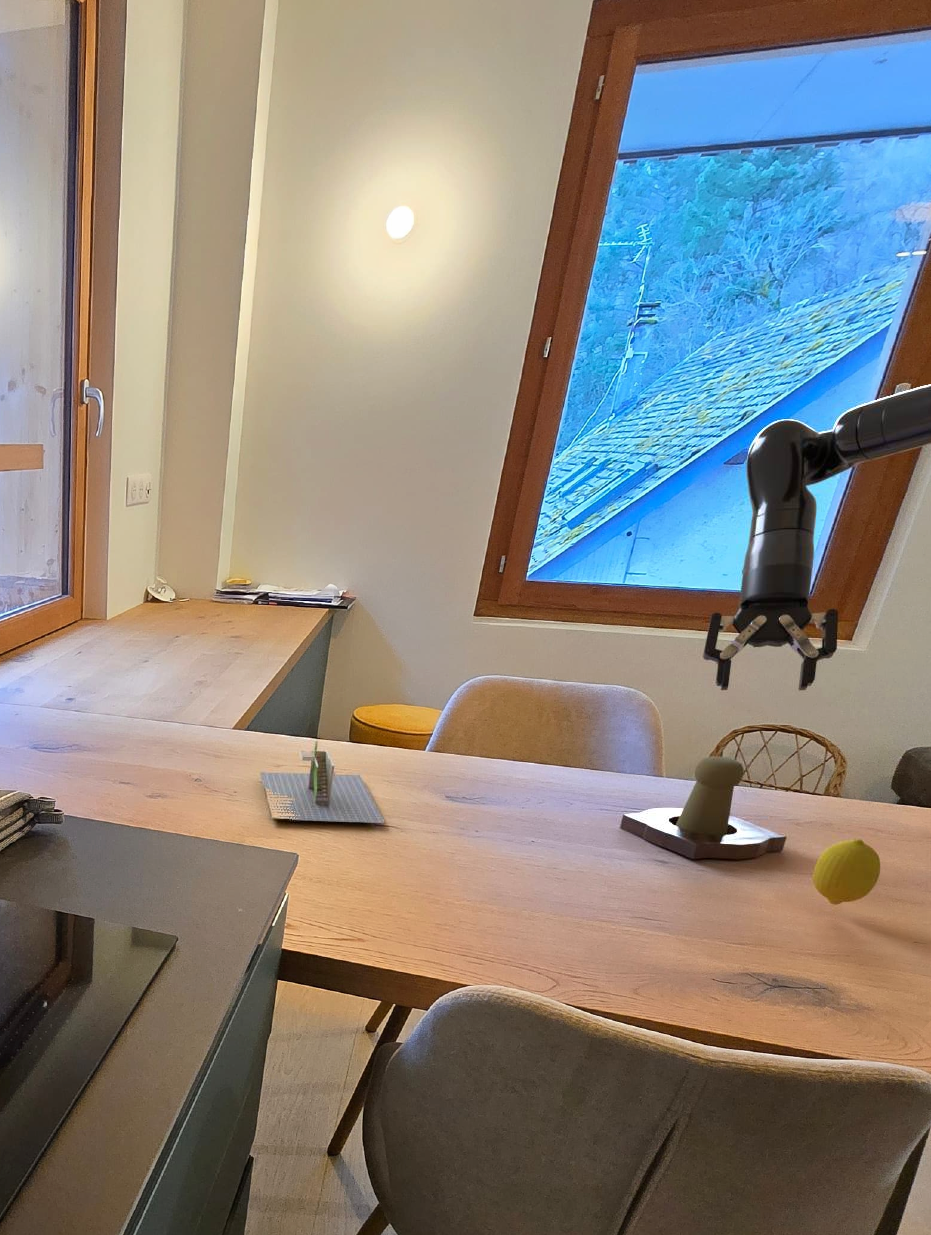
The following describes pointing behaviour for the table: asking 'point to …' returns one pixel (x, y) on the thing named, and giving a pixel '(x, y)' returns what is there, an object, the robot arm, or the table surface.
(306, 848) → the table surface
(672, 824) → the holder
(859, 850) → the lemon
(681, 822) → the cork
